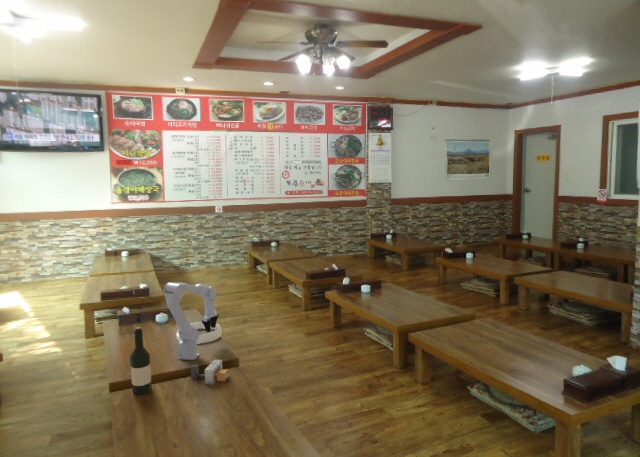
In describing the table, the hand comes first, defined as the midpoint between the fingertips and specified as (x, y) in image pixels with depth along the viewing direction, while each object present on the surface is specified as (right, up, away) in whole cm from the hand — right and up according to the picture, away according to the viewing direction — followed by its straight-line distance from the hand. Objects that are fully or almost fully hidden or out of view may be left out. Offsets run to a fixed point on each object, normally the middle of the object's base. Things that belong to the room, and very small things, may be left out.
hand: (210, 329), depth 259 cm
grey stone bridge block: (+11, -15, -40) cm, 44 cm away
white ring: (-12, -9, +20) cm, 25 cm away
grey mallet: (+9, -15, -39) cm, 43 cm away
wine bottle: (-19, -17, -51) cm, 57 cm away
